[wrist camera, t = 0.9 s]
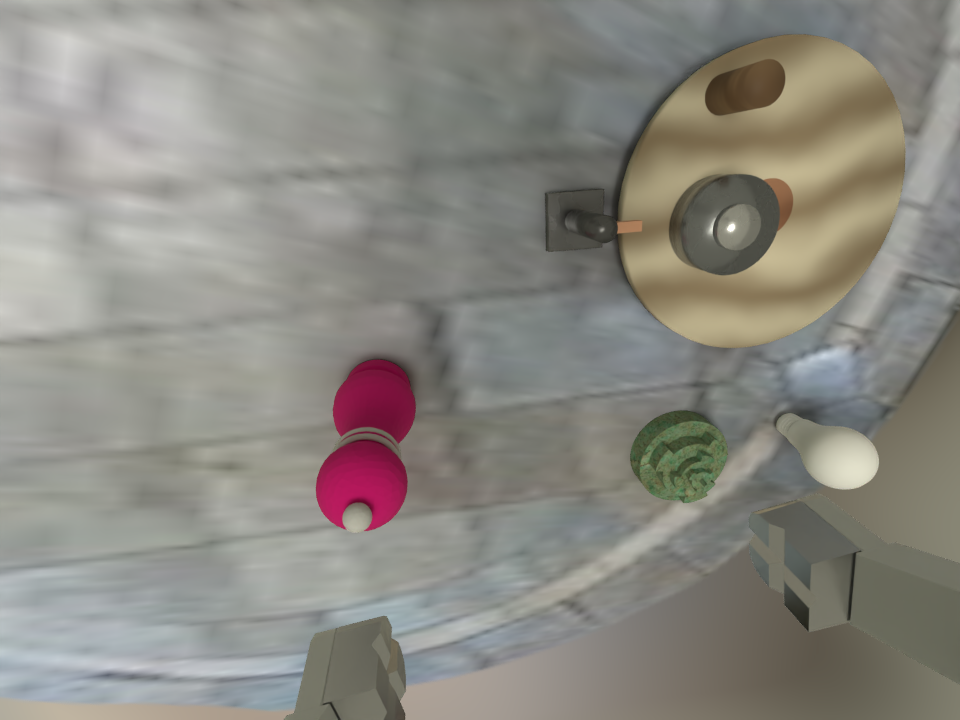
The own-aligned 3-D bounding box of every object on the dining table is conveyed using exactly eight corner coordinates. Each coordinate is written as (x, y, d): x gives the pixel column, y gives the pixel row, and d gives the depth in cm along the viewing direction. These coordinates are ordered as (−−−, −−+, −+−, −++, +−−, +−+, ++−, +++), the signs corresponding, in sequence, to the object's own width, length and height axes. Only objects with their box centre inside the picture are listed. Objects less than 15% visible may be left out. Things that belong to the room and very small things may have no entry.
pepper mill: (425, 366, 47) (433, 492, 28) (402, 429, 49) (395, 583, 30) (352, 344, 45) (309, 462, 27) (331, 410, 47) (279, 562, 29)
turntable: (597, 83, 38) (632, 66, 32) (903, 4, 39) (992, -28, 33) (634, 372, 48) (666, 400, 42) (877, 304, 49) (943, 322, 43)
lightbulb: (746, 422, 54) (823, 479, 44) (790, 385, 53) (879, 434, 43) (773, 452, 56) (853, 513, 46) (815, 416, 55) (906, 471, 45)
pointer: (546, 250, 44) (572, 265, 37) (545, 193, 42) (573, 197, 35) (603, 245, 45) (641, 259, 37) (605, 188, 43) (645, 191, 35)
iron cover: (664, 187, 40) (688, 189, 37) (754, 163, 40) (787, 162, 37) (672, 279, 43) (695, 288, 40) (756, 256, 44) (786, 263, 40)
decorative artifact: (661, 397, 52) (613, 470, 54) (696, 429, 45) (640, 510, 48) (730, 428, 54) (681, 496, 57) (773, 462, 48) (716, 537, 51)
